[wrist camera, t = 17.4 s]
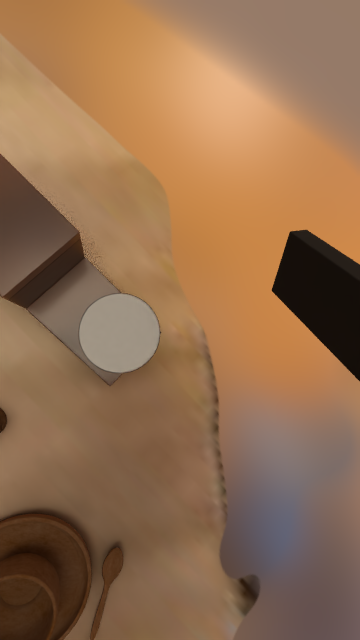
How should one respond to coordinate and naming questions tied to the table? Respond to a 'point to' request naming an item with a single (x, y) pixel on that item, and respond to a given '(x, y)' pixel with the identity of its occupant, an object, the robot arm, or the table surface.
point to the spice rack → (46, 263)
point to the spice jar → (119, 333)
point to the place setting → (46, 576)
